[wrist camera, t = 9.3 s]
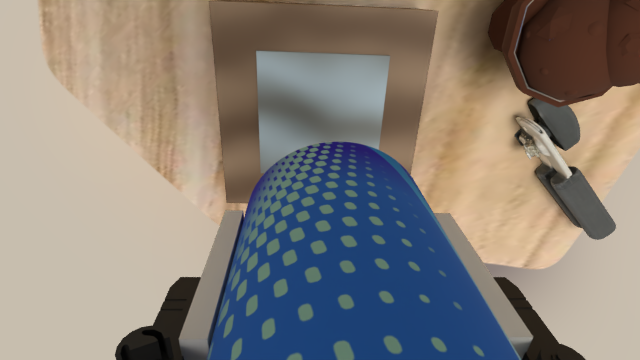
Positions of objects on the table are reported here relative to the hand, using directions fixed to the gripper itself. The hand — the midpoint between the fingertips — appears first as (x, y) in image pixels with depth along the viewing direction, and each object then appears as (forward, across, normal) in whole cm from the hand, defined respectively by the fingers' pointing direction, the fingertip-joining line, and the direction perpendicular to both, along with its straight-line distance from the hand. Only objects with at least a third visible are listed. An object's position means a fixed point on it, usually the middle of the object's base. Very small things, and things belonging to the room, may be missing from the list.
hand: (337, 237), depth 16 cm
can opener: (+25, +28, -7) cm, 38 cm away
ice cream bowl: (+24, +19, +8) cm, 32 cm away
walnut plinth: (+24, 0, 0) cm, 24 cm away
